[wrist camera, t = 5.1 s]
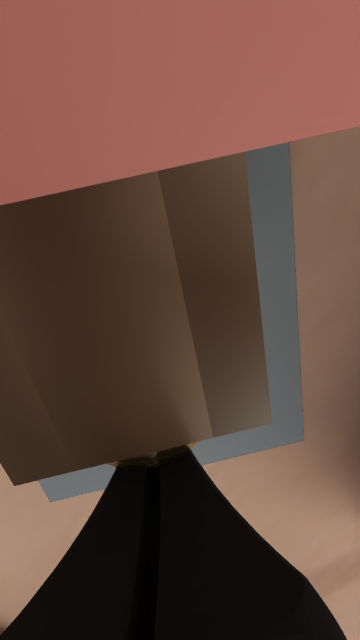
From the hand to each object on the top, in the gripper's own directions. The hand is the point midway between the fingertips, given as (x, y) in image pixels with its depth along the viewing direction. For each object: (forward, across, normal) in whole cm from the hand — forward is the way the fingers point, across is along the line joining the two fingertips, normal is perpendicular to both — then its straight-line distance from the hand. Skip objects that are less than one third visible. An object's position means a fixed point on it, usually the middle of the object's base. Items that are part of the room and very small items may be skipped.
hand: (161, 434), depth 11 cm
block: (+2, 0, -6) cm, 6 cm away
